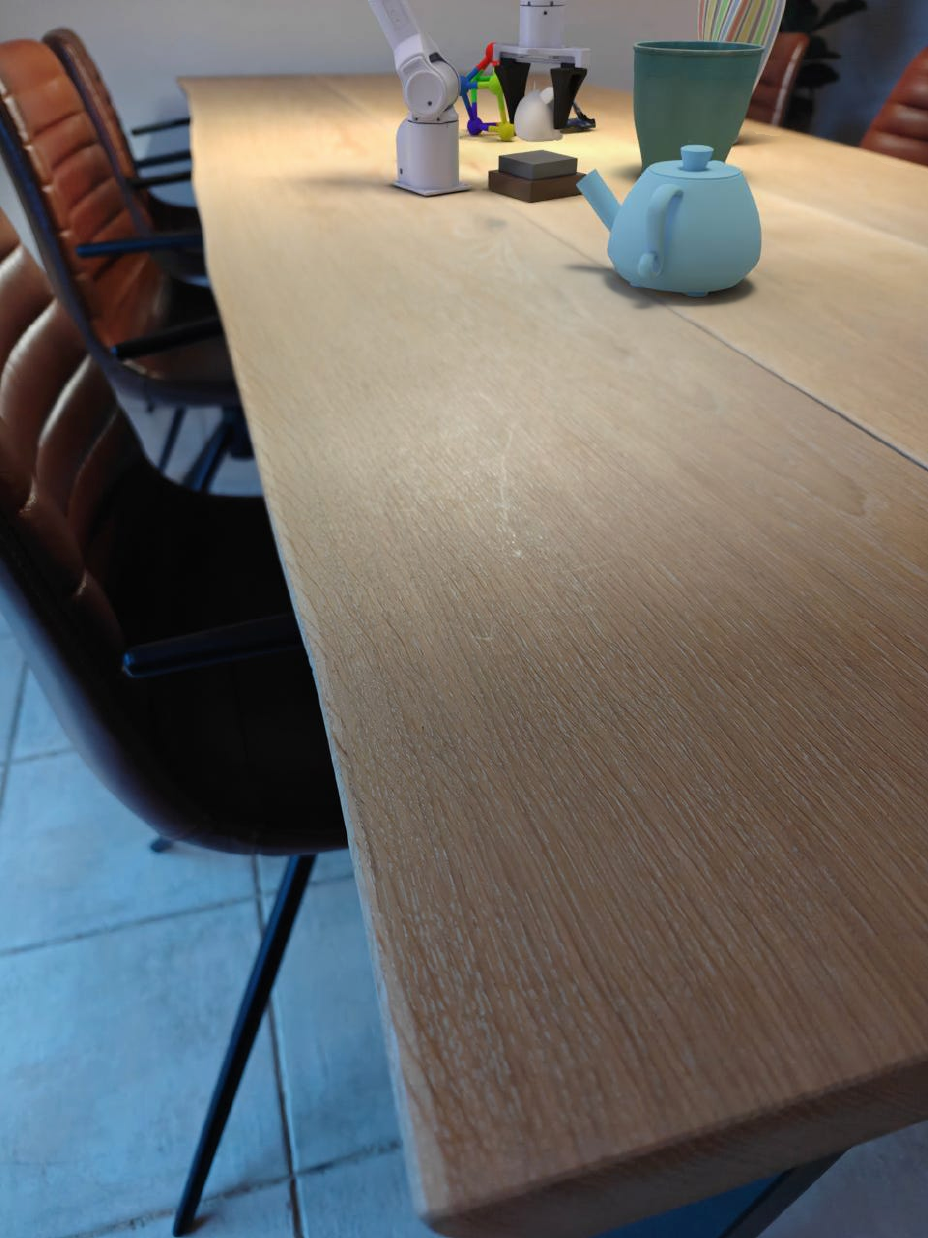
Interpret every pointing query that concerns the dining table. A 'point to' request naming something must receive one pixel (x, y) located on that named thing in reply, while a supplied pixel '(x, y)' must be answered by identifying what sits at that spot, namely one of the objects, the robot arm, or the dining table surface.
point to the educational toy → (474, 83)
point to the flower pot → (691, 95)
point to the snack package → (580, 120)
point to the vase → (741, 24)
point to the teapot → (681, 224)
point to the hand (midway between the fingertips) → (537, 125)
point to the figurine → (536, 116)
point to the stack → (535, 176)
